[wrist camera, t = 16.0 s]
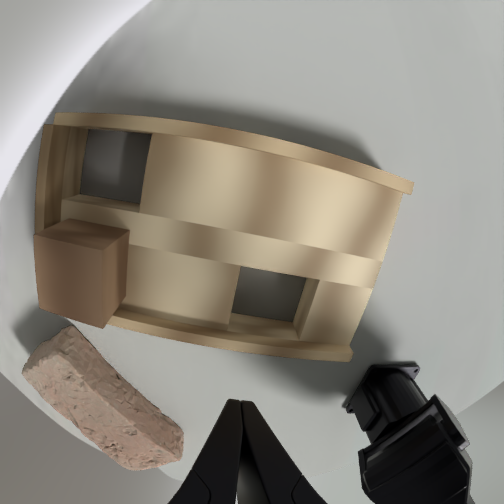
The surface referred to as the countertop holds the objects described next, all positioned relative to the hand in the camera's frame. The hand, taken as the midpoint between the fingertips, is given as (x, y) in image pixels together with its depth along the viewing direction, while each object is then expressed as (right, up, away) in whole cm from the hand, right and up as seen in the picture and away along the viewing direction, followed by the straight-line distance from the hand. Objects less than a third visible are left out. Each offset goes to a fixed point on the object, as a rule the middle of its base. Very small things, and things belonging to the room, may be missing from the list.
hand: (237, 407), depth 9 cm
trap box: (-2, +6, +10) cm, 12 cm away
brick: (-14, -9, +16) cm, 23 cm away
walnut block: (-9, +5, +8) cm, 13 cm away
